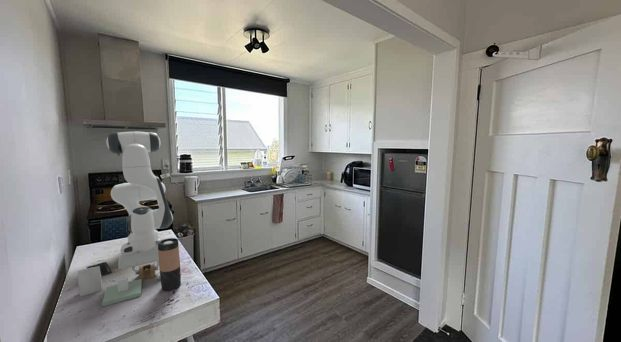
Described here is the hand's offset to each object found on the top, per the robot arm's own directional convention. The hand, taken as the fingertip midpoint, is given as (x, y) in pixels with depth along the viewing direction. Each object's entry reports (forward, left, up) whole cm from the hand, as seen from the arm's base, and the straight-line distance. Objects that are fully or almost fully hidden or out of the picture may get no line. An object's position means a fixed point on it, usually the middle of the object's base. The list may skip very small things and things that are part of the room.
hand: (147, 272), depth 115 cm
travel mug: (+16, +9, -2) cm, 19 cm away
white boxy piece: (+2, -20, -2) cm, 20 cm away
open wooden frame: (0, 0, -2) cm, 2 cm away
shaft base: (+11, -8, -2) cm, 14 cm away
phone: (-18, -20, -2) cm, 27 cm away
